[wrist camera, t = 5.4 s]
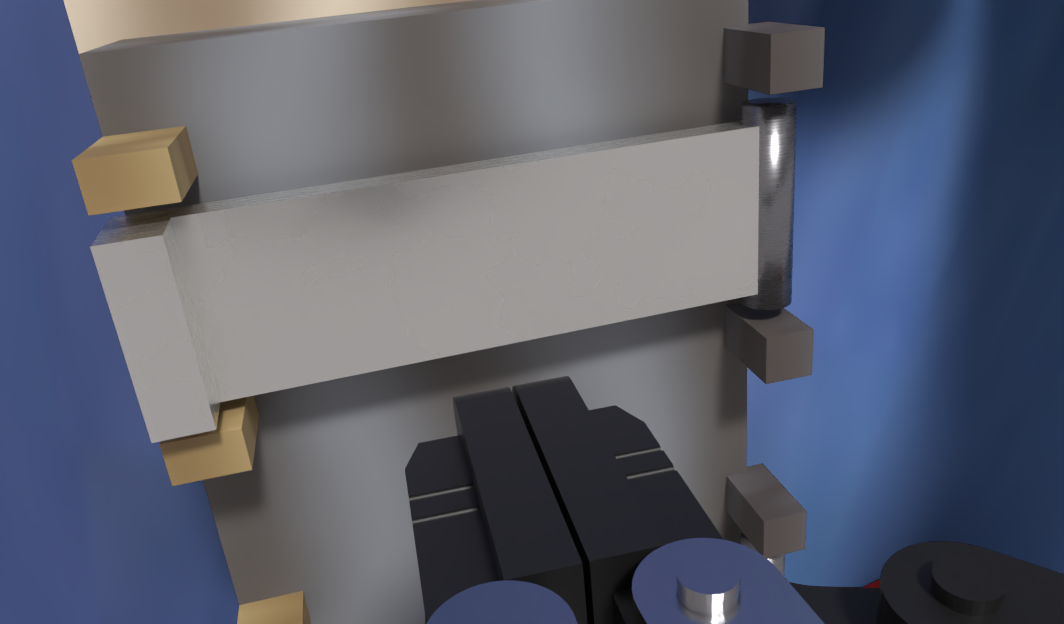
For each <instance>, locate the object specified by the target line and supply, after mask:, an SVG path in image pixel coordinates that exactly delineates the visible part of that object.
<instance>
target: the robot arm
mask: <svg viewBox="0 0 1064 624" xmlns="http://www.w3.org/2000/svg"><path fill="white" fill-rule="evenodd" d="M453 407H454V415H455V422H456V429H457V436H453V437H447V438H442V439H437V440H432V441H426V442H421V443H418V445H417V447H416V449H415V451H414V452H413V454H412V456H411V458H410V460H409V462H408V464H407V466H406V468H405V475H406V482H407V489H408V496H409V503H410V511H411V518H412V524H413V532H414V539H415V546H416V553H417V560H418V568H419V575H420V582H421V589H422V596H423V603H424V610H425V624H1064V574H1061V573H1058V572H1055V571H1052V570H1049V569H1046V568H1043V567H1040V566H1037V565H1034V564H1031V563H1028V562H1025V561H1022V560H1019V559H1016V558H1013V557H1010V556H1007V555H1004V554H1001V553H998V552H995V551H992V550H989V549H985V548H982V547H978V546H975V545H970V544H965V543H959V542H948V541H933V542H924V543H918V544H915V545H911V546H908V547H906V548H903V549H901V550H899V551H897V552H896V553H895V554H893V555H892V556H891V557H890V558H889V559H888V560H887V562H886V563H885V564H884V567H883V569H882V571H881V579H880V588H863V587H821V586H807V585H801V584H795V583H791V582H788V581H787V579H786V578H785V577H784V576H783V575H782V574H781V572H780V571H779V570H778V569H777V568H776V567H775V566H774V565H773V564H772V563H771V562H770V561H769V560H768V559H767V558H765V557H764V556H763V555H761V554H760V553H758V552H756V551H754V550H752V549H751V548H749V547H746V546H744V545H741V544H738V543H735V542H731V541H727V540H724V539H723V538H722V536H721V535H720V533H719V532H718V530H717V529H716V527H715V526H714V524H713V523H712V521H711V520H710V518H709V517H708V516H707V514H706V513H705V511H704V510H703V508H702V507H701V505H700V504H699V502H698V501H697V499H696V498H695V496H694V495H693V493H692V492H691V490H690V489H689V487H688V486H687V484H686V483H685V481H684V480H683V478H682V477H681V476H680V474H679V473H678V471H677V470H674V466H673V464H672V462H671V461H670V459H669V458H668V456H667V455H666V453H665V452H664V450H662V451H661V447H660V444H659V443H658V441H657V440H656V438H655V437H654V436H653V434H652V433H651V431H650V430H649V428H648V427H647V425H646V424H645V422H643V421H642V420H640V419H638V418H636V417H635V416H633V415H631V414H630V413H628V412H626V411H624V410H623V409H621V408H619V407H618V406H616V405H614V406H609V407H604V408H598V409H593V410H588V408H587V406H586V405H585V403H584V401H583V399H582V398H581V396H580V394H579V392H578V390H577V389H576V387H575V385H574V383H573V382H572V380H571V378H570V377H569V376H563V377H558V378H552V379H547V380H541V381H536V382H530V383H525V384H519V385H514V386H512V392H511V389H510V388H509V387H504V388H499V389H493V390H488V391H482V392H477V393H471V394H466V395H460V396H455V397H453Z"/></svg>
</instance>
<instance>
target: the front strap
mask: <svg viewBox="0 0 1064 624" xmlns="http://www.w3.org/2000/svg"><path fill="white" fill-rule="evenodd" d="M796 111H797V101H796V100H795V99H791V98H759V99H752V100H748V101H744V102H742V103H741V121H736V122H729V123H723V124H716V125H710V126H703V127H697V128H690V129H684V130H677V131H671V132H664V133H658V134H651V135H645V136H638V137H632V138H625V139H619V140H612V141H606V142H599V143H592V144H586V145H579V146H573V147H566V148H560V149H553V150H547V151H540V152H534V153H527V154H521V155H514V156H508V157H501V158H495V159H488V160H482V161H475V162H469V163H462V164H456V165H449V166H443V167H436V168H430V169H423V170H417V171H410V172H404V173H397V174H391V175H384V176H378V177H371V178H365V179H358V180H352V181H345V182H339V183H332V184H326V185H319V186H313V187H306V188H300V189H293V190H287V191H280V192H274V193H267V194H261V195H254V196H248V197H241V198H235V199H228V200H222V201H215V202H209V203H202V204H196V205H189V206H183V207H176V208H170V209H163V210H157V211H150V212H144V213H137V214H131V215H124V216H118V217H111V218H110V220H109V221H108V223H107V224H106V225H105V227H104V228H103V229H102V231H101V232H100V234H99V235H98V236H97V238H96V239H95V241H94V242H93V243H92V245H91V246H90V248H91V251H92V254H93V257H94V261H95V264H96V267H97V270H98V273H99V277H100V280H101V283H102V286H103V289H104V293H105V296H106V299H107V302H108V305H109V309H110V312H111V315H112V318H113V321H114V325H115V328H116V331H117V334H118V337H119V340H120V344H121V347H122V350H123V353H124V356H125V360H126V363H127V366H128V369H129V372H130V376H131V379H132V382H133V385H134V388H135V392H136V395H137V398H138V401H139V404H140V408H141V411H142V414H143V417H144V420H145V423H146V427H147V430H148V433H149V436H150V439H151V443H155V442H160V441H164V440H169V439H174V438H179V437H184V436H188V435H193V434H198V433H203V432H208V431H213V430H216V428H217V421H218V415H219V408H220V402H224V401H229V400H234V399H239V398H244V397H249V396H254V395H259V394H264V393H269V392H274V391H279V390H284V389H289V388H293V387H298V386H303V385H308V384H313V383H318V382H323V381H328V380H333V379H338V378H343V377H348V376H353V375H358V374H363V373H368V372H373V371H378V370H383V369H388V368H393V367H398V366H403V365H408V364H413V363H418V362H423V361H428V360H433V359H438V358H443V357H448V356H453V355H458V354H463V353H468V352H473V351H478V350H483V349H488V348H493V347H498V346H503V345H507V344H512V343H517V342H522V341H527V340H532V339H537V338H542V337H547V336H552V335H557V334H562V333H567V332H572V331H577V330H582V329H587V328H592V327H597V326H602V325H607V324H612V323H617V322H622V321H627V320H632V319H637V318H642V317H647V316H652V315H657V314H662V313H667V312H672V311H677V310H682V309H687V308H692V307H697V306H702V305H707V304H712V303H717V302H722V301H726V300H731V299H736V298H741V303H742V304H743V305H744V306H746V307H749V308H752V309H757V310H776V309H781V308H784V307H787V306H788V305H790V304H791V300H792V262H793V224H794V186H795V148H796Z"/></svg>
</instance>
